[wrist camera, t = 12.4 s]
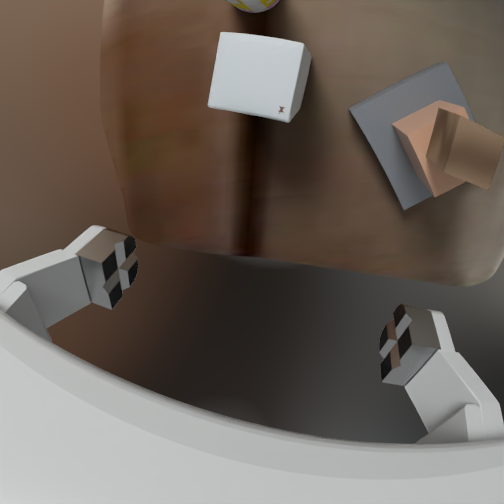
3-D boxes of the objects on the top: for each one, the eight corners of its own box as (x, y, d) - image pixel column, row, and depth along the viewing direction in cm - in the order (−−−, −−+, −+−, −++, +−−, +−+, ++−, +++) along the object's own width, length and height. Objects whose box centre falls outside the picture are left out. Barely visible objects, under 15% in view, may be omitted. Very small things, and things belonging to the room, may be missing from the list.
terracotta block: (439, 99, 25) (464, 107, 20) (461, 152, 28) (487, 170, 22) (391, 123, 29) (407, 135, 23) (416, 175, 31) (434, 197, 25)
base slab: (438, 63, 25) (447, 62, 23) (480, 159, 30) (490, 166, 27) (348, 108, 32) (350, 111, 29) (399, 200, 36) (403, 210, 34)
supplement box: (313, 55, 29) (308, 43, 19) (300, 110, 33) (289, 126, 23) (252, 43, 30) (219, 29, 19) (242, 97, 34) (205, 109, 24)
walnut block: (438, 107, 21) (460, 115, 17) (479, 126, 20) (505, 138, 16) (425, 155, 24) (443, 172, 20) (466, 171, 23) (488, 190, 19)
